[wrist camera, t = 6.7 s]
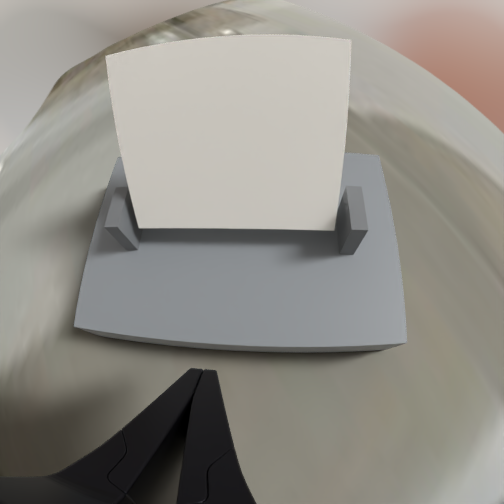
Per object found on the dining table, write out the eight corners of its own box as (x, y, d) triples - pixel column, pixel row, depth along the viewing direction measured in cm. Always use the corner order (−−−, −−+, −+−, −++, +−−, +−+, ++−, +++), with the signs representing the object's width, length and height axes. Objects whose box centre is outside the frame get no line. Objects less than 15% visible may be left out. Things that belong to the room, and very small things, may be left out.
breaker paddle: (334, 230, 15) (351, 40, 9) (138, 228, 15) (105, 55, 10) (328, 210, 16) (340, 40, 10) (150, 209, 17) (124, 53, 11)
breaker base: (385, 349, 16) (433, 333, 11) (100, 336, 18) (43, 315, 12) (367, 183, 21) (390, 125, 16) (133, 182, 22) (102, 130, 17)
